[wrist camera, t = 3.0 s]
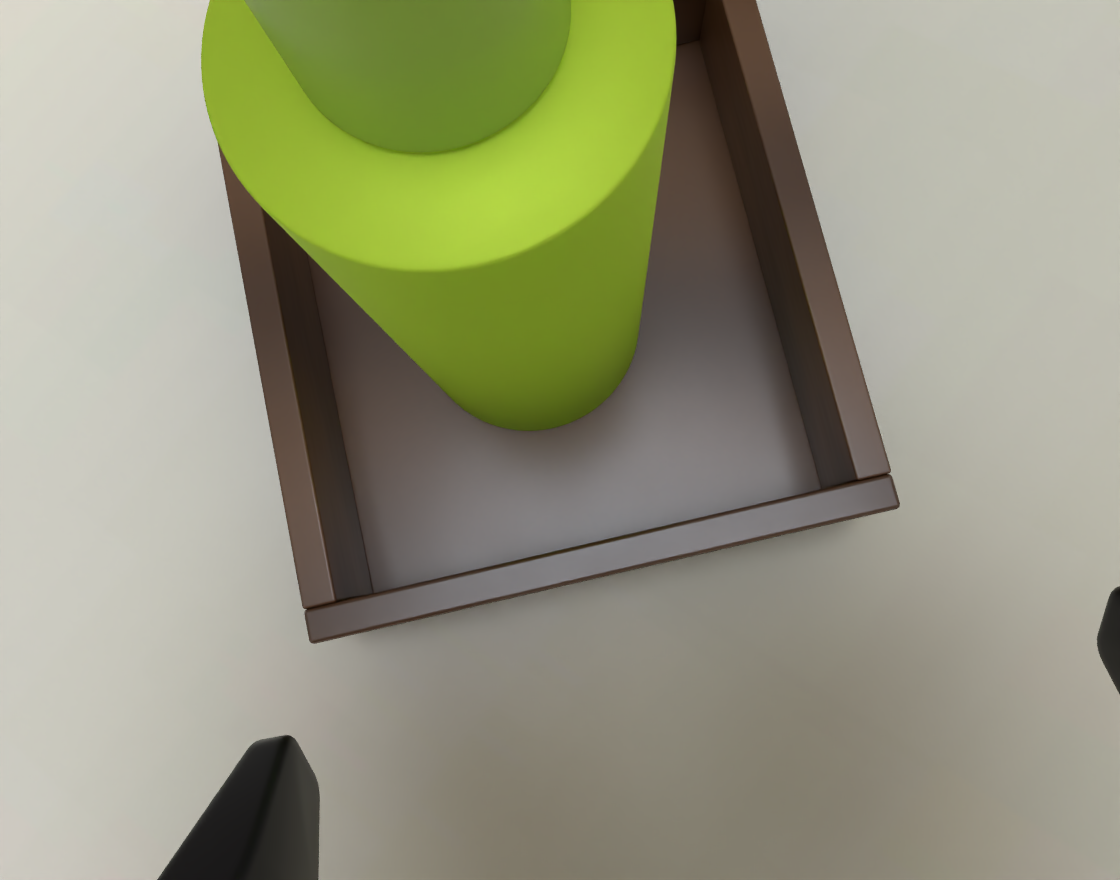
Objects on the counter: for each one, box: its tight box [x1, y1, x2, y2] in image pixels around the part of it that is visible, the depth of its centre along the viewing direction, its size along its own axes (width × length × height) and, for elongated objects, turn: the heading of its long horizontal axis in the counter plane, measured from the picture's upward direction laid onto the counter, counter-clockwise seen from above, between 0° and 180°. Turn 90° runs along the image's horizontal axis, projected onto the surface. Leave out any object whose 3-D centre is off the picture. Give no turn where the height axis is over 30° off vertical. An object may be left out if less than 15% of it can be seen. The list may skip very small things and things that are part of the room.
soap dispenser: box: [201, 0, 676, 431], centre depth 14 cm, size 6×7×20 cm
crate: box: [218, 0, 900, 644], centre depth 22 cm, size 15×14×4 cm
